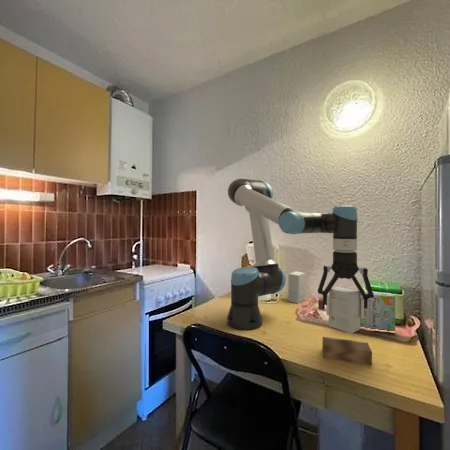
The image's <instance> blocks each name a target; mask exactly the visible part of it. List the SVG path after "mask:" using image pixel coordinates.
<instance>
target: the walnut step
mask: <svg viewBox="0 0 450 450" xmlns="http://www.w3.org/2000/svg"><path fill="white" fill-rule="evenodd" d="M321 348H322V357H323V358H324V359H325V358H326V359H331V360H337V361H342V362H343V361H344V362H350V363H356V364H364V365H368V366H369V365H370V366H371V365H373V351H372V348H371V347H370V345H369V342H367V341H359V340H353V339H352V340H351V339H343V338H337V337H329V336H322V347H321Z"/></svg>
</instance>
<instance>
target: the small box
mask: <svg viewBox="0 0 450 450" xmlns="http://www.w3.org/2000/svg"><path fill="white" fill-rule="evenodd" d="M328 295H329V316H328V326H329V327H331V328H334V329H337V330H340V331H343V332H346V333H349V334H353V333H355V332H357V331H360V330H359V329H360V298H361V293H360V291H359V290H356V289H351V288H345V287H343V286H342V287H341V286H336V287H332V288H331V290H330V291H329V293H328Z"/></svg>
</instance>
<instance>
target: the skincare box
mask: <svg viewBox="0 0 450 450" xmlns="http://www.w3.org/2000/svg"><path fill="white" fill-rule="evenodd" d="M287 287H288V289H287V290H288V293H287V295H288V296H287V297H288V298H287V299H288V302H290V303H294V304H300V303H302V302H304V301H305V300H306V272H303V271H296V270H295V271H293V272H290V273H288V286H287Z"/></svg>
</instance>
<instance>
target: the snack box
mask: <svg viewBox="0 0 450 450" xmlns="http://www.w3.org/2000/svg"><path fill="white" fill-rule="evenodd" d="M364 292H365V294H367V293H368V292H367V290H366V291H365V290H364ZM372 292H373V295H374V297H373V298H368V300H367V309H365V308H364V319H361V317H360V327H365V328H370V329H378V330H387V331H395V332H396V296H395V295H394V294H393V293H391V292H383V291H382V292H381V291H380V292H379V291H372ZM361 297H363V296H362V295H361Z"/></svg>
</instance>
